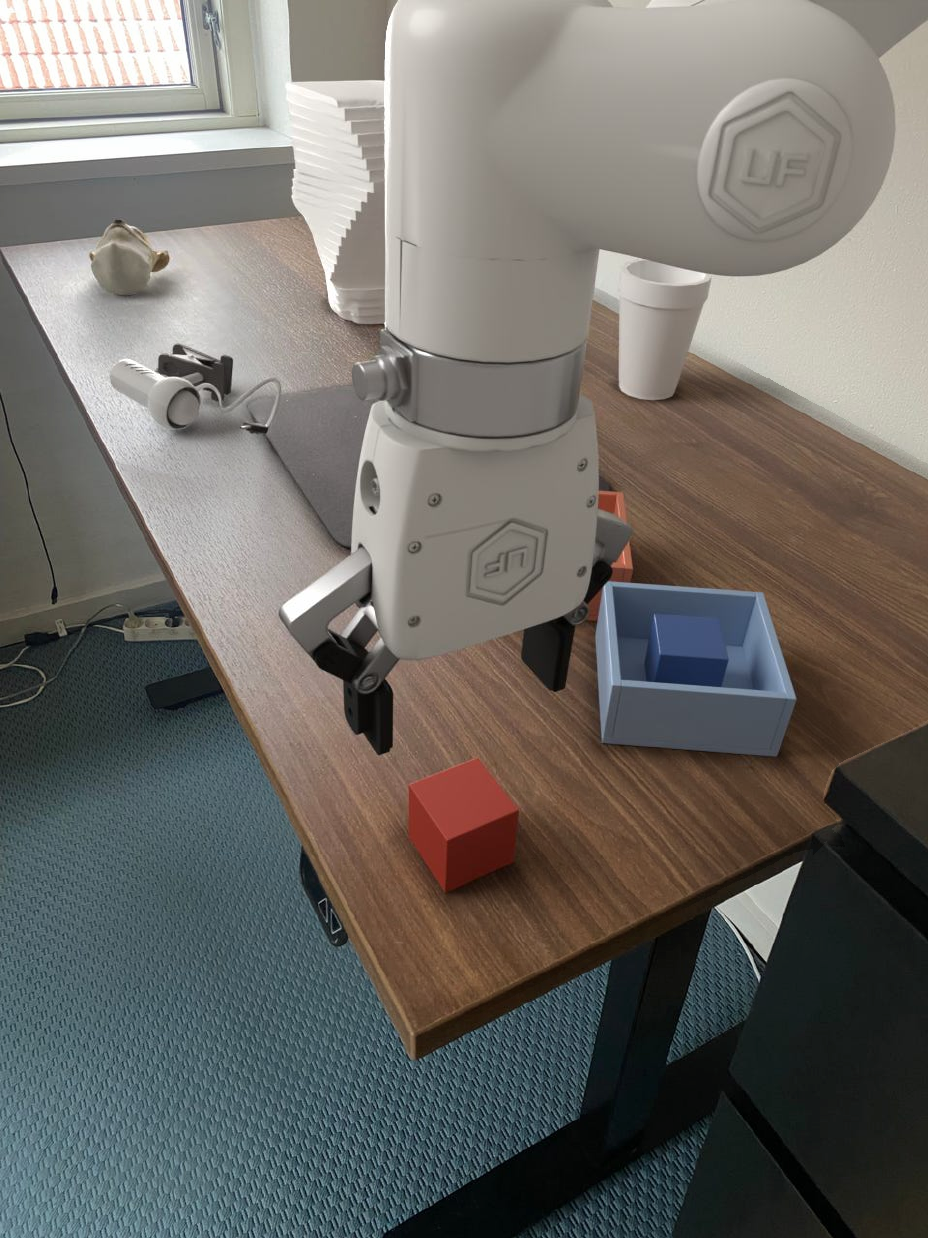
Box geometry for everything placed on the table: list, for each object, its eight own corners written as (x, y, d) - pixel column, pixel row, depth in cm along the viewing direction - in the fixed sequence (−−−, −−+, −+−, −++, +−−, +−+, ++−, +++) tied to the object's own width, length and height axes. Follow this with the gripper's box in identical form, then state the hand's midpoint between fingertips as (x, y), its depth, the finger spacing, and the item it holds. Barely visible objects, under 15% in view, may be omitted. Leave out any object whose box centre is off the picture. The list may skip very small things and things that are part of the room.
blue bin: (747, 647, 68) (763, 592, 65) (777, 757, 59) (797, 699, 56) (595, 635, 68) (603, 580, 65) (601, 743, 60) (612, 685, 56)
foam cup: (652, 413, 100) (672, 291, 92) (588, 385, 105) (602, 268, 97) (705, 391, 105) (729, 274, 97) (641, 365, 110) (659, 253, 102)
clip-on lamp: (307, 440, 97) (182, 372, 102) (314, 384, 93) (184, 316, 98) (227, 475, 88) (94, 399, 93) (231, 415, 84) (93, 339, 90)
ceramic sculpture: (66, 230, 115) (86, 207, 127) (79, 301, 120) (98, 272, 132) (154, 230, 117) (166, 207, 129) (164, 300, 122) (175, 272, 134)
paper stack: (291, 291, 127) (274, 76, 111) (476, 278, 134) (485, 74, 119) (323, 347, 111) (309, 105, 96) (530, 329, 119) (549, 102, 103)
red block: (474, 808, 55) (477, 756, 52) (513, 862, 52) (519, 809, 49) (408, 836, 53) (408, 784, 50) (445, 893, 50) (447, 840, 47)
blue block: (706, 667, 65) (719, 618, 63) (715, 710, 62) (729, 659, 59) (643, 662, 65) (653, 613, 63) (649, 705, 62) (660, 654, 59)
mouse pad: (619, 493, 85) (620, 491, 85) (342, 554, 75) (342, 552, 75) (471, 367, 108) (471, 366, 107) (243, 402, 98) (242, 400, 98)
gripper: (308, 458, 29) (327, 818, 40) (720, 374, 36) (645, 697, 47) (230, 371, 34) (266, 710, 45) (606, 312, 41) (561, 616, 52)
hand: (460, 703), depth 46 cm, fingers open, 9 cm apart
